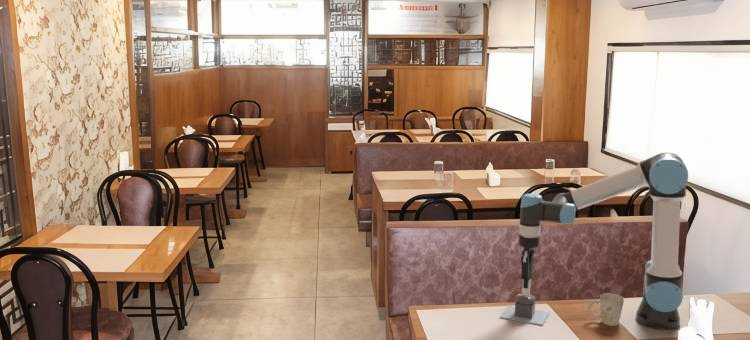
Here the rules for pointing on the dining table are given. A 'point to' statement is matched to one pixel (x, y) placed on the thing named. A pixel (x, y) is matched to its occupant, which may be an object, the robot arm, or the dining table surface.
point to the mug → (608, 308)
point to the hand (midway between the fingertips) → (525, 295)
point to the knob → (525, 306)
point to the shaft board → (537, 318)
